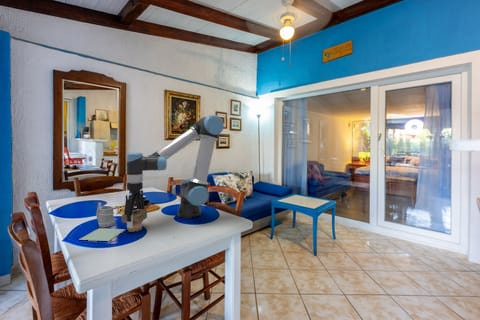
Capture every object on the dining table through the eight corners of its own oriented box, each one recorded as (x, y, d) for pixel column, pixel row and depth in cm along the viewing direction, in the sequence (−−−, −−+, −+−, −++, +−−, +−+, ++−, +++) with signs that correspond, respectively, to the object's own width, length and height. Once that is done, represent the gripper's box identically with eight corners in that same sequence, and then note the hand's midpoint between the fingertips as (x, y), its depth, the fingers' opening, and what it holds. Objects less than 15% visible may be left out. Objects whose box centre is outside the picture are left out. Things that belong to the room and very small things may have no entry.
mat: (125, 230, 116) (125, 229, 116) (108, 242, 102) (108, 240, 102) (99, 229, 116) (99, 228, 116) (79, 240, 102) (79, 239, 102)
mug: (104, 228, 117) (104, 206, 117) (90, 224, 122) (90, 203, 121) (117, 224, 124) (117, 203, 124) (103, 220, 129) (103, 200, 128)
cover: (147, 217, 122) (147, 209, 121) (139, 223, 113) (139, 214, 112) (130, 217, 122) (130, 208, 122) (121, 222, 113) (121, 213, 113)
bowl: (144, 227, 121) (144, 218, 121) (138, 232, 114) (138, 222, 114) (131, 226, 121) (131, 217, 121) (124, 231, 114) (124, 222, 114)
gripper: (138, 178, 127) (137, 217, 128) (115, 185, 105) (115, 231, 107) (150, 179, 127) (150, 217, 128) (131, 186, 105) (131, 232, 106)
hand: (134, 224), depth 117 cm, fingers closed on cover, 9 cm apart
